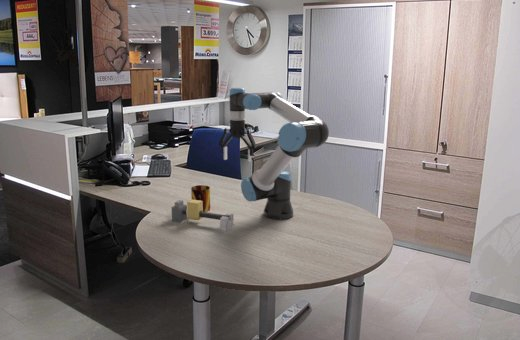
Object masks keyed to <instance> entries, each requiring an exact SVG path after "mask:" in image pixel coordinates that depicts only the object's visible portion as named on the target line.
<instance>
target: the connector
mask: <svg viewBox="0 0 520 340" xmlns="http://www.w3.org/2000/svg"><path fill="white" fill-rule="evenodd" d="M184 209H187V204H184V200H181V199H178V200H177V201H175V202H174V205H173V206H172V207H171V221H172V222H175V223H176V222H177V223H182V222H185V220H187V219H188V217H187V215H184V214H183V210H184Z"/></svg>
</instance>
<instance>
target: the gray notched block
mask: <svg viewBox="0 0 520 340" xmlns="http://www.w3.org/2000/svg"><path fill="white" fill-rule="evenodd" d="M225 215H227V216H229V220H228V217H224V216H222V218H220V220H219V221H220V222H219V229H220V231H225V232H227V231H228V230H229V229H231V228H232V227H233V226H234V225H235V224H234V223H235V221H234V220H235V219H234V213H233V212H227V213H225Z"/></svg>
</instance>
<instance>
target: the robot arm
mask: <svg viewBox="0 0 520 340" xmlns="http://www.w3.org/2000/svg"><path fill="white" fill-rule="evenodd" d="M228 95H229V96H228V97H229V98H228V99H229V119H230V120H229V127H225V128H223V133H222V136H221V138H220V140H219V142H218V146H219V147H221V150H222V151H221V153H222V154H223V160H224V161H226V160H228V144H229V143H230V141H231V140H232V139H233V138H235V139H236V138H237V139H241V140H242V141H243V142H244V144H245V145H246V147H248V149H247V162H248V163H251V162H252V158H253V157H252V156H253V155H254V149H256V148H257V147H258V145H257V144H256V142H255V139H254V137H253V134H252V130H251V128H250V129H246V128H245V127H246V120H245V118H246V116H245V115H246V114H245V113H246V112H245V110H249V111H257V110H258V109H269V110H271V111H272V112H274V113H275V114H276V115H278V116H279V117H281V118H283V119H284V120H286V121H288V123H285V124H283V125H282V126H281V128H280V129H279V131H278V134H277V135H278V136H277V141H278V142H277V143H278V146H277V147H276V148H275V149H274V150H273V152H272V154H271V155H270V156H269V158H267V160H266V161H265V162H264V164H263V165H262V166H261V168H260V169H257V170H255V171H254V172H253V173H252V174H251V176H249V177H244V178H243V179H242V180H241V183H240V190H241V193H242V196H243V198H244V200H245V201H247V202H256V201H257V202H258V201H261V200H265V199H266V203H265V205H264V208H263V215H264V217H265V218H267V219H270V220H271V219H272V220H288V219H291V218H292V217H293V216H294V208H293V205H292V203H291V189H292V187H291V186H292V185H291V184H292V180H291V174H290V172H288V171H285V169H286V168H287V166H289V164H290V163H291V162H292V161H293V159H295V158H299V157H300V156H302V154H303V153H304V152H305V151H306V150H308V149H314V148H319V147H322V146H323V145H324V144H325V143H326V142H327V141H328V138H329V135H330V130H329V127H328V125H327V123H326V122H325V121H324V120H323V119H322V118H319V117H318V116H316V115H310V114H309V113H307V112H306V111H304V110H302V109H300V108H298V107H296V106H295V105H293V104H292V103H290V102H288V101H287V100H285V99H284V98H283V96H282V94H281V93H280V92H277V91H269V92H268V91H267V92H252V93H248V92H247V93H246V90H245V88H244V87H230V89H229V94H228ZM228 133H230V134H229V135H228ZM245 133H246V135H245ZM227 136H228V137H227ZM226 137H227V138H226Z"/></svg>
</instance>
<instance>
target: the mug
mask: <svg viewBox="0 0 520 340" xmlns="http://www.w3.org/2000/svg"><path fill="white" fill-rule="evenodd" d="M190 190H191V191H190V192H191V197H190V198H191V200H192V199H193V200H200V201H203V212H207V213H209V211H211V187H210V186H209V185H204V184H203V185H202V184H200V185H199V184H198V185H194V186H192V187H191V188H190Z"/></svg>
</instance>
